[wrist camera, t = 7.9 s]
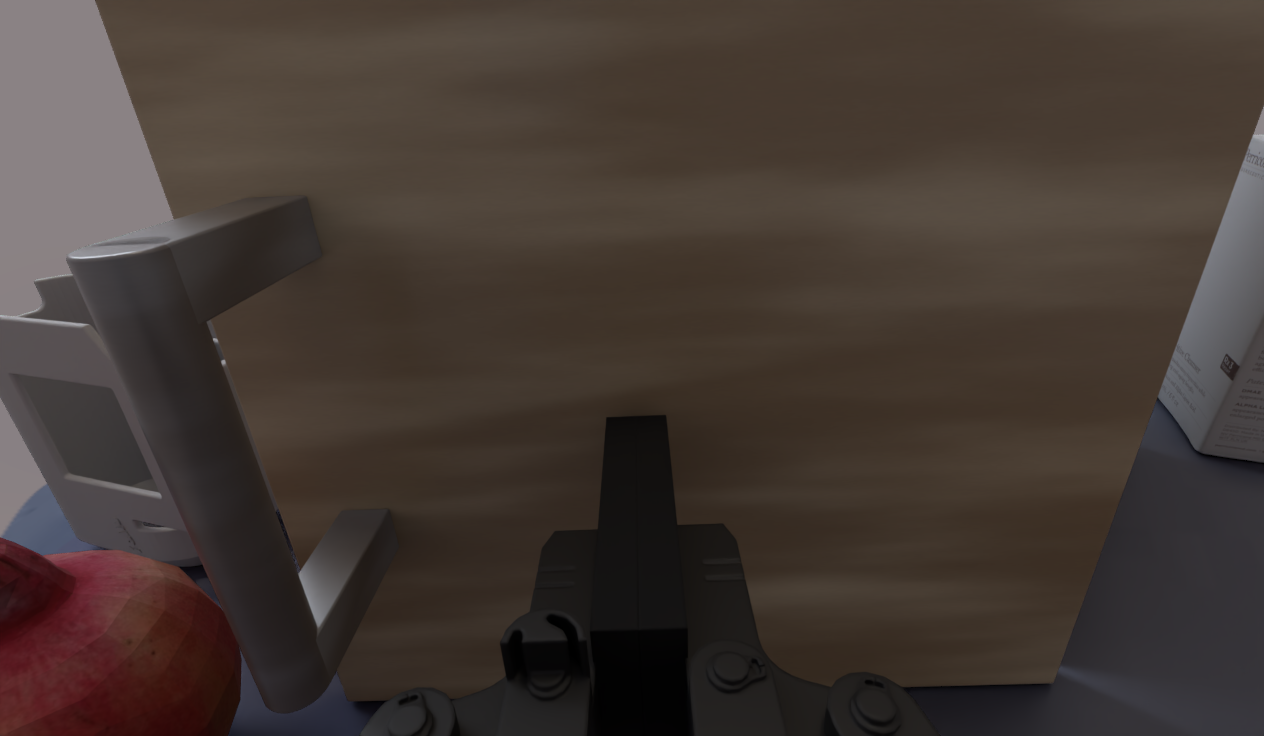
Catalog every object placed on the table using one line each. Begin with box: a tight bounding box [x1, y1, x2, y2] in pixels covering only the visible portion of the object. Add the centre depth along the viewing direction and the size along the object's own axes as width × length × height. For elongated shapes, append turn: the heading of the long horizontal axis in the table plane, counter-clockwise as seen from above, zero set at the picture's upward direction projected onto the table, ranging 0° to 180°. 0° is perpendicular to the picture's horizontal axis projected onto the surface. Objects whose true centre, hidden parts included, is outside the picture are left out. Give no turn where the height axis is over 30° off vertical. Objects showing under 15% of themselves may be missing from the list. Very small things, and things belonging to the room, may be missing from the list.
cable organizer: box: [0, 274, 278, 567], centre depth 27 cm, size 7×12×12 cm, turn 72°
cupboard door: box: [66, 0, 1264, 713], centre depth 14 cm, size 6×24×23 cm, turn 90°
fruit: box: [0, 538, 241, 736], centre depth 16 cm, size 8×8×10 cm
